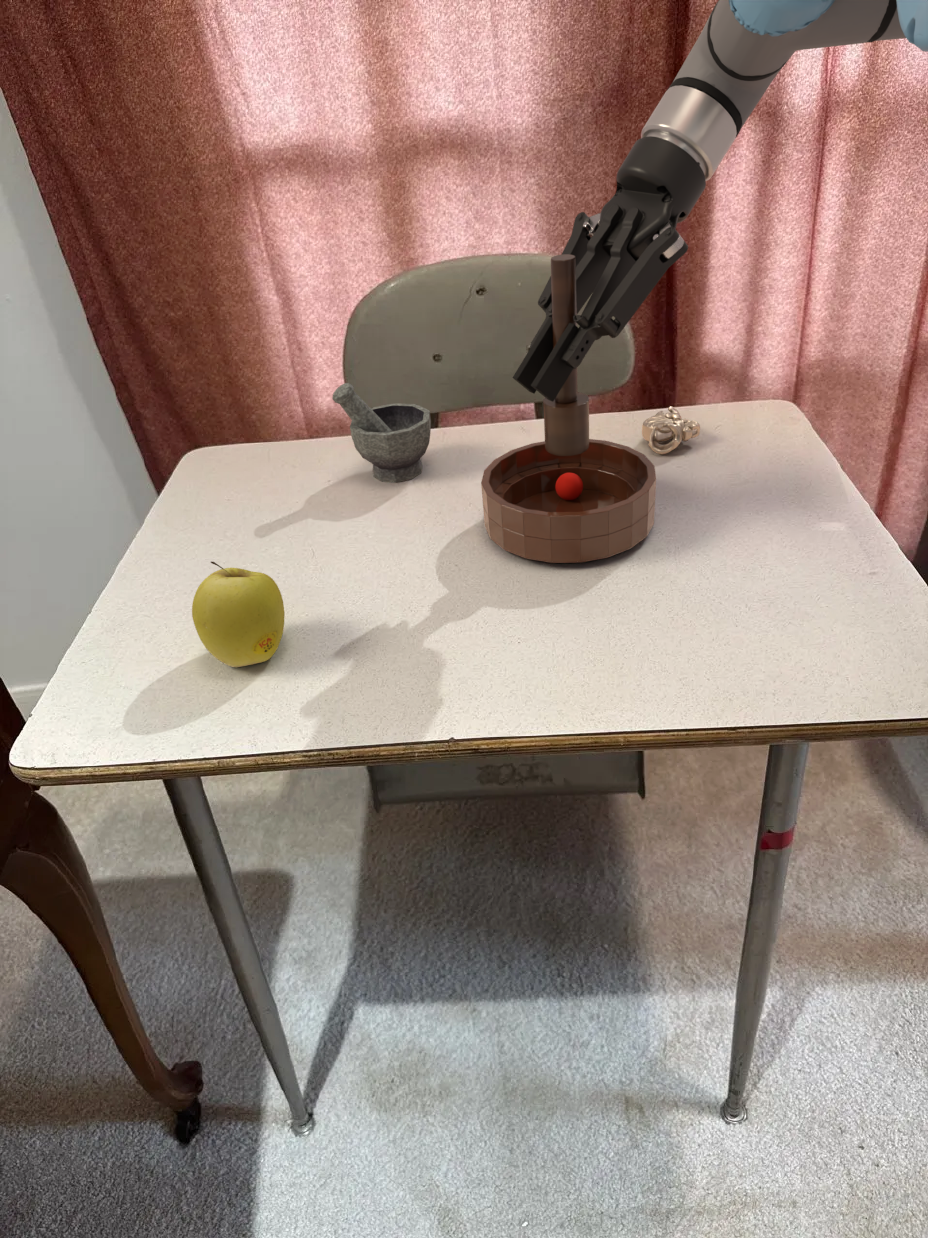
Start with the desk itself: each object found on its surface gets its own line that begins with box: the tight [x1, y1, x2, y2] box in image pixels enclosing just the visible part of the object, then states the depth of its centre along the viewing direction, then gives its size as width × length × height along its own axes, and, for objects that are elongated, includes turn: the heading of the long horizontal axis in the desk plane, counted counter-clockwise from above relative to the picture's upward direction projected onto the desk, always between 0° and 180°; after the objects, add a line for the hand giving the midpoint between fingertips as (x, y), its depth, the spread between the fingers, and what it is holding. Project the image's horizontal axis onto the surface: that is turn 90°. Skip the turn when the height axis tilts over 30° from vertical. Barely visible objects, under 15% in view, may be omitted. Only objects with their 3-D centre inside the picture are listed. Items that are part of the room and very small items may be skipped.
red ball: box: [555, 473, 583, 500], centre depth 91 cm, size 3×3×3 cm
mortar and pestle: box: [331, 382, 432, 483], centre depth 100 cm, size 11×9×12 cm
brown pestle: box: [542, 254, 590, 456], centre depth 79 cm, size 4×4×18 cm
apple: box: [191, 561, 286, 668], centre depth 73 cm, size 8×8×10 cm
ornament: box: [641, 406, 701, 455], centre depth 102 cm, size 8×7×4 cm
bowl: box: [480, 438, 657, 564], centre depth 87 cm, size 18×18×6 cm
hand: (532, 389), depth 78 cm, fingers closed on brown pestle, 2 cm apart
